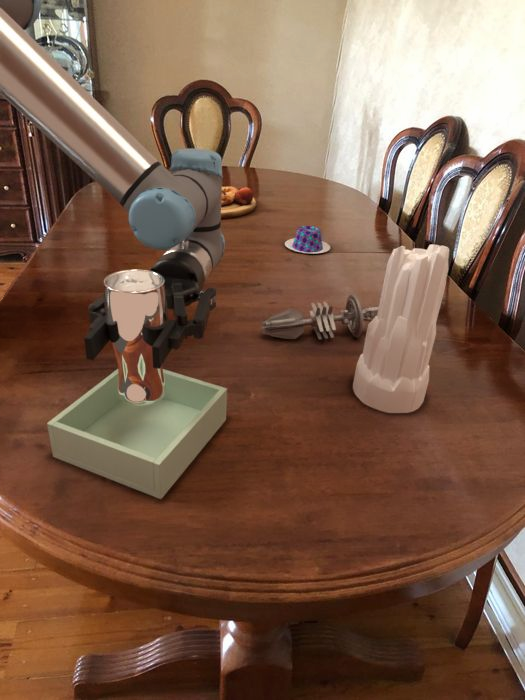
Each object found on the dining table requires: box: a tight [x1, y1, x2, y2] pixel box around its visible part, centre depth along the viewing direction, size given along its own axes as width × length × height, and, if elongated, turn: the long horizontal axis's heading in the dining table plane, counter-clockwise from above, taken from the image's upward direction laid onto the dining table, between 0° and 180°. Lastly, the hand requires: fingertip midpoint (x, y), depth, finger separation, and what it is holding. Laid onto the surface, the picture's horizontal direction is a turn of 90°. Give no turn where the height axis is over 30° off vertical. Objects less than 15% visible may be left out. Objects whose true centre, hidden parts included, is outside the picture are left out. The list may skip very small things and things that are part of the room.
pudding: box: [284, 225, 331, 255], centre depth 136 cm, size 12×12×5 cm
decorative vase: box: [352, 243, 450, 414], centre depth 75 cm, size 11×11×25 cm
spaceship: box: [260, 293, 447, 340], centre depth 96 cm, size 8×35×8 cm
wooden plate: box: [221, 186, 257, 219], centre depth 165 cm, size 32×32×8 cm
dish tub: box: [46, 368, 228, 500], centre depth 68 cm, size 16×17×6 cm
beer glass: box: [103, 268, 169, 406], centre depth 62 cm, size 7×7×15 cm
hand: (122, 353), depth 57 cm, fingers closed on beer glass, 7 cm apart
